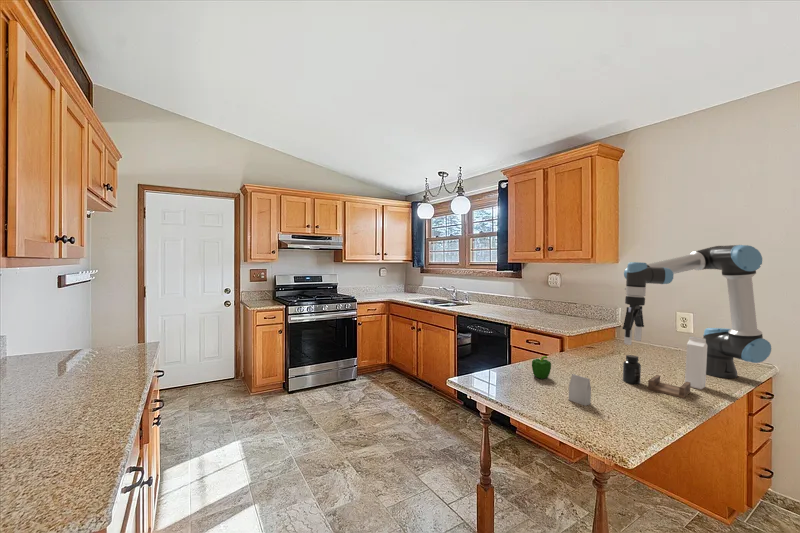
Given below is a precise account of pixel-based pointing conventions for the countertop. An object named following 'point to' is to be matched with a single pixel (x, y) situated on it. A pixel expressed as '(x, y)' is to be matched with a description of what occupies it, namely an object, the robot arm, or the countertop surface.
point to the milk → (696, 362)
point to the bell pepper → (541, 367)
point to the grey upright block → (580, 390)
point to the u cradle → (668, 387)
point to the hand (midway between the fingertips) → (632, 342)
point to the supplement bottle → (631, 370)
